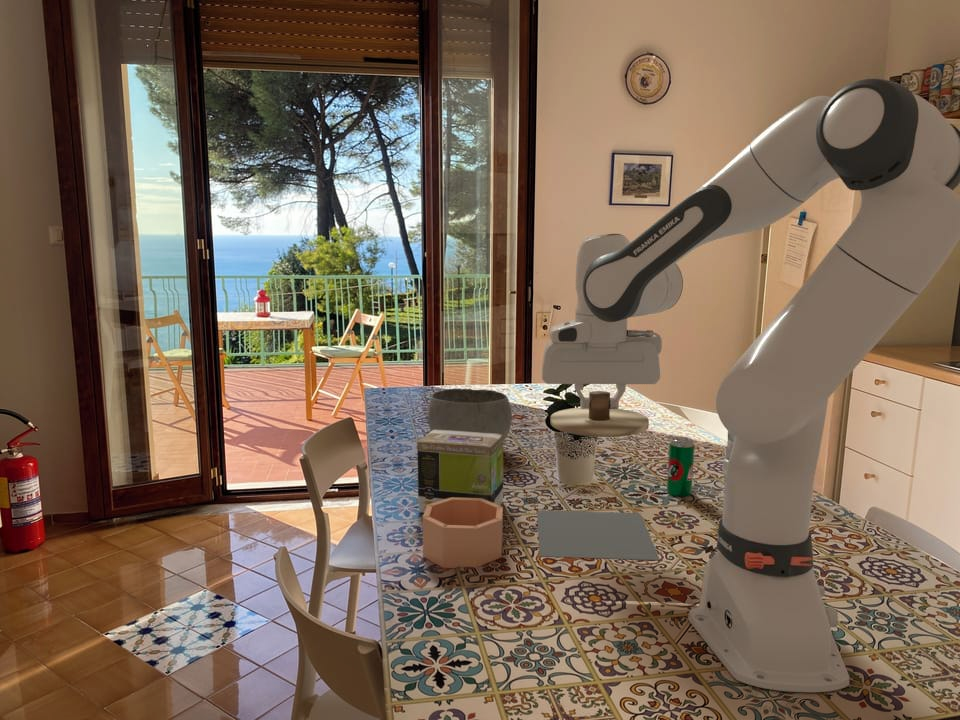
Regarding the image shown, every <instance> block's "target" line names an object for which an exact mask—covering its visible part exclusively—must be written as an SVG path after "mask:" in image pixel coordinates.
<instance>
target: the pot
mask: <svg viewBox="0 0 960 720" xmlns="http://www.w3.org/2000/svg"><path fill="white" fill-rule="evenodd" d="M503 509H504V507H503V506H502V505H500V506H499V505H497V504H494V503H492V502H490V501H487V500H485V499H483V498H459V497H451V498H447V499H444V500H441V501H438V502H435V503H431V504H428V505H427V506H426V509H425V512H424V513H423V515H422V557H423V558H425V559H427V560H428V561H430V562H432V563H434V564H435V565H438V566H439V567H440V568H443V569H457V568H458V567H461V568H462V567H463V568H479V567H481V566H483V565H486V564H488V563H491V562H492V561H493V562H494V561H495V560H498V559H501V558H502V552H503V551H502V550H503V527H504V526H503V524H504V523H503V519H504V518H503V517H504V511H503Z"/></svg>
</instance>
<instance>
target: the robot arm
mask: <svg viewBox="0 0 960 720" xmlns="http://www.w3.org/2000/svg"><path fill="white" fill-rule="evenodd" d="M838 179H841V182H843V184H844V185H845V186H846V188H847V189H848V190H850V191H859V193H860V196H861V202H860V207H859V210H858V213H857V215H855V218H854V219H853V220H852V222H851V223H850V225H849V226H848V227H847V228H846V230H845V231H844V232H843V234H842V235H841V236H840V237H839V238H838V240H837V241H836V243H834V244H833V246H831V247H832V248H831V249H830V250H829V251H828V252H827V254H826V255H825V256H824V257H823V259H822V260H821V262H819V264H818V265H817V267H816V268H815V269H814V270H813V272H811V275H809V277H808V278H807V279H806V281H805V282H804V283H803V284H802V286H801V287H800V288H799V289H798V291H797V292H796V294H795V295H794V296H793V297H792V298H791V300H789V302H788V303H787V304H786V305H785V306H784V307H783V308H782V309H781V311H779V313H778V314H777V315H776V316H775V317H774V318H773V319H772V320H771V321H770V323H769V324H768V325H767V326H766V327H765V329H763V330H762V331H761V333H760V334H759V335H758V337H756V338H755V340H753V342H752V343H751V345H750V346H748V348H747V349H746V350H745V351H744V352H743V354H742V355H741V356H740V357H739V358H738V360H737V361H736V362H735V363H734V365H733V366H732V367H731V368H730V369H729V370H728V372H727V373H726V375H725V376H724V377H723V379H722V382H720V386H719V388H718V390H717V393H716V399H715V405H716V407H715V408H716V412H717V416H718V418H719V421H720V422H721V424H722V425H723V427H724V428H725V429H726V430H727V432H728V431H729V432H730V433H731V434H732V435H734V436H735V439H734V443H733V448H732V451H731V455H730V458H729V461H728V464H727V467H726V476H724V477H725V481H724V490H723V491H724V493H723V506H722V518H721V519H720V520H719V523H718V528H717V532H716V538H717V541H716V546H717V550H716V552H715V554H714V555H713V556H712V557H711V558H710V559H709V560H708V561H707V562H706V563H705V564H704V565H705V566H704V570H703V578H702V585H701V594H700V599H699V600H700V601H699V606H697V607H695V608H691V610H690V611H688V616H687V619H688V621H689V623H690V624H691V626H693V628H694V629H695V630H696V631H697V633H698V635H700V637H701V638H702V639H703V640H704V642H705V643H706V644H707V646H708V647H709V648H710V649H711V650H712V652H713V653H714V654H715V656H716V657H717V658H718V659H719V661H720V663H722V664H723V666H724V667H725V668H726V670H727V672H729V673H730V675H731V676H732V677H733V678H734V679H735V680H736V681H738V682H741V683H743V684H747V685H750V686H754V687H757V688H761V689H767V690H771V691H772V690H773V691H780V692H791V693H793V692H794V693H823V692H824V693H827V692H832V691H839V690H842V689H844V688H846V687H848V686H849V685H850V675H849V672H848V670H847V667H846V666H845V662H844V660H843V658H842V655H841V653H840V651H839V648H838V645H837V642H836V641H835V638H834V635H833V633H832V630H831V628H837V627H838V624H839V623H838V622H839V615H838V611H837V610H836V609H835V608H833V607H826V606H825V604H824V601H823V597H825V595H826V590H825V586H823V585H819V583H818V580H817V577H816V575H815V570H814V569H815V567H814V557H813V555H814V545H813V540H812V535H811V532H810V524H811V515H812V513H811V512H812V505H813V504H812V503H813V494H814V483H815V475H816V471H817V465H818V460H819V455H820V450H821V445H822V438H823V434H824V433H823V432H824V428H825V421H826V416H827V415H826V414H827V409H828V402H829V399H830V397H831V396H832V395H833V393H835V391H836V390H837V389H838V388H839V387H840V386H841V385H842V383H843V382H844V381H846V379H847V378H848V376H850V374H851V373H852V372H853V371H854V370H855V369H856V367H857V366H858V365H859V364H860V363H861V362H862V361H863V359H864V358H865V357H866V356H868V354H869V353H870V352H871V351H872V350H873V348H875V346H876V345H877V344H878V343H879V341H881V340H882V338H883V337H884V336H885V335H886V333H888V331H889V330H891V328H892V327H893V326H894V324H895V323H896V322H897V321H898V320H899V319H900V318H901V316H902V315H903V314H904V313H905V312H906V311H907V310H908V309H909V307H910V306H911V305H912V303H914V302H915V300H916V299H917V298H918V297H919V296H920V295H921V293H922V292H923V291H924V290H925V289H926V287H927V286H928V285H929V284H930V283H931V281H932V280H933V279H934V277H935V276H936V275H937V274H938V272H939V271H940V270H941V268H942V267H943V265H944V263H945V262H946V261H947V259H948V258H949V256H950V255H951V253H952V252H953V250H954V248H955V247H956V245H957V244H958V242H959V240H960V196H959V195H958V194H957V193H956V191H954V190H955V189H956V188H957V187H958V186H959V185H960V130H959V128H957V126H955V125H954V124H952V123H950V121H948V120H947V118H946V117H945V116H944V115H942V113H941V112H940V110H939V109H938V108H937V107H936V106H935V105H934V104H932V102H931V103H930V102H929V101H928V100H927V99H925V98H923V97H921V96H920V95H918V94H915V93H913V92H912V91H911V90H910V89H909V88H907V87H906V86H905V85H903V84H901V83H898V82H895V81H892V80H889V79H888V80H887V79H883V78H881V79H880V78H865V79H860V80H857V81H854V82H852V83H850V84H848V85H847V86H845V87H843V88H842V89H840V90H839V91H837V92H836V93H835V94H834V95H833V96H828V95H827V96H826V95H818V96H817V95H816V96H814V97H811V98H807V100H805V101H803V102H802V103H801V104H798V105H797V106H795V107H794V108H793V109H791V110H790V111H788V112H787V113H785V114H784V115H782V116H781V117H780V118H778V119H777V120H775V121H774V122H773V123H771V125H769V126H768V127H767V128H766V129H764V130H763V131H762V132H761V133H760V134H759V135H758V136H756V137H755V138H754V139H753V140H751V142H750V143H748V145H746V146H745V147H744V148H743V149H742V150H740V151H739V153H737V155H735V156H734V157H733V158H731V160H730V161H729V162H728V163H727V164H725V165H724V166H723V167H722V168H721V169H720V170H718V172H717V173H716V174H714V175H713V176H712V177H710V179H709V180H707V181H706V182H705V183H704V184H702V185H701V186H700V187H699V188H698V189H696V190H695V191H694V192H693V193H692V194H690V195H689V196H687V197H686V198H685V199H684V200H682V201H681V202H680V203H678V204H677V205H675V206H674V207H672V208H671V210H669V211H667V212H666V214H664V215H663V216H662V217H660V218H659V219H657V221H655V223H653V224H652V225H651V226H650V227H648V228H647V229H646V230H644V231H643V232H642V233H641V234H639V235H638V236H637V237H636V238H635V239H633V240H632V241H630V240H629V239H628V238H627V236H625V235H623V234H621V233H606V234H600V235H599V234H598V235H594V236H590V237H587V238H586V239H585V240H583V241H582V242H581V244H580V246H579V247H578V248H579V249H578V252H577V257H576V266H575V290H576V294H577V304H576V307H575V312H574V315H575V316H574V319H572V320H569V321H566V322H563V323H558V324H555V325H554V326H551V327H550V328H549V332H548V333H549V334H548V335H549V339H550V341H548V342H547V343H546V346H545V348H544V351H543V352H544V353H543V355H542V356H543V357H542V363H541V365H542V366H541V379H542V380H543V382H544V383H545V384H547V385H574V390H575V392H576V394H577V396H578V397H579V399H580V408H581V409H590V405H589V404H590V399H589V397H585V396H584V394H583V392H582V391H583V390H584V385H615V388H616V389H617V391H616V393H615V395H614V396H613V397H610V409H620V407H619V406H620V405H619V403H620V400H621V398H622V397H623V396H624V394H625V392H626V390H627V387H626V385H656V384H657V383H658V381H660V379H661V366H660V358H659V357H660V356H659V355H660V354H661V352H662V347H663V346H662V345H663V342H662V337H661V335H660V334H659V333H656V332H654V330H652V329H651V330H650V329H645V330H638V329H628V319H629V318H634V317H635V318H636V317H642V316H648V315H653V314H660V313H662V312H665V311H667V310H670V309H671V308H673V307H674V306H675V305H676V304H677V303H678V301H679V300H680V298H681V296H682V294H683V293H682V292H683V288H684V279H683V274H682V271H681V269H680V267H679V266H678V265H677V262H679V261H680V260H682V259H683V258H684V257H686V256H688V254H689V253H691V252H692V251H694V250H695V249H697V248H699V247H700V246H703V245H705V244H707V243H710V242H713V241H715V240H720V239H722V238H726V237H730V236H735V235H741V234H745V233H746V234H747V233H750V232H755V231H756V232H757V231H759V230H760V231H761V230H763V229H765V228H768V227H769V226H771V225H772V224H774V223H776V222H777V221H781V219H783V218H785V217H787V216H788V215H789V214H791V213H792V212H794V211H795V210H796V209H798V208H799V207H800V206H801V205H803V204H804V203H805V202H806V201H808V200H809V199H810V198H812V197H813V196H814V195H815V194H816V193H817V192H818V191H819V190H821V189H822V188H823V187H825V186H826V185H828V184H829V183H831V182H833V181H834V180H838Z"/></svg>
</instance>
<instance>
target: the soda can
mask: <svg viewBox="0 0 960 720" xmlns="http://www.w3.org/2000/svg"><path fill="white" fill-rule="evenodd" d="M668 445H669V446H668V461H667V477H666V480H667V481H666V492H667V494H668V495H671V496H673V497H676V498H677V497H678V498H679V497H680V498H686V497H689V496H691V495H692V493H693V492H692V491H693V481H694V480H693V479H694V478H693V475H694V463H695V462H694V461H695V449H696V447H695V444H694V440H693V439H692V438H690V437H687V436H673V437H671V441H669V443H668Z"/></svg>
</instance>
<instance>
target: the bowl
mask: <svg viewBox="0 0 960 720" xmlns="http://www.w3.org/2000/svg"><path fill="white" fill-rule="evenodd" d="M427 419H428V426H429V430H430V432H431V431H432V430H434V429H437V430H452V431H467V432H481V433H497V434H503V442H504V441H505V440H506V438H507V437H508V435H509V433H510V430H511V426H512V421H513V414H512V408H511V403H510V400H509V397H508V396H507V395H506V394H504V393H502V392H500V391H496V390H492V389H491V390H490V389H471V388H447V389H443V390H438V391H435V392H434V393H432V395H431V396H430V400H429V405H428V410H427Z"/></svg>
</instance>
